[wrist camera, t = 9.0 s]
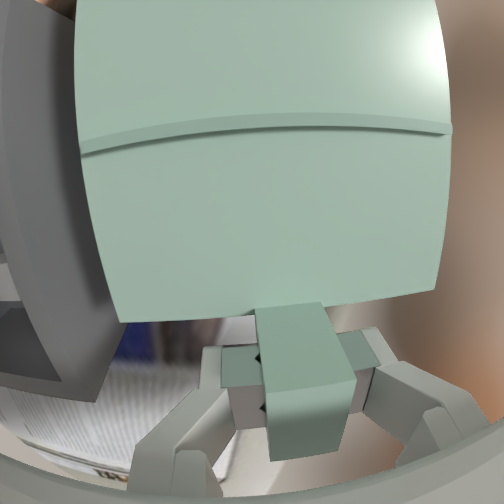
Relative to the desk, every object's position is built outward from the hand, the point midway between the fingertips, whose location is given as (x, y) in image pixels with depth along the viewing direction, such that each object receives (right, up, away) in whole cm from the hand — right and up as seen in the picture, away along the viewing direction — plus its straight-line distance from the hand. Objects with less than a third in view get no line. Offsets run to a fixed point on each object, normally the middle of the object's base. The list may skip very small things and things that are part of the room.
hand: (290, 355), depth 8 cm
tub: (-12, +6, +3) cm, 14 cm away
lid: (-1, +7, -2) cm, 7 cm away
